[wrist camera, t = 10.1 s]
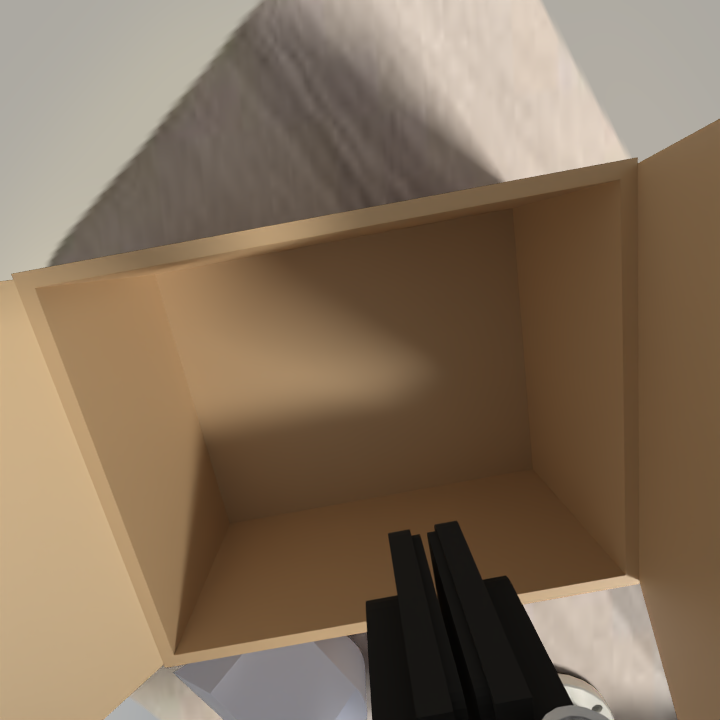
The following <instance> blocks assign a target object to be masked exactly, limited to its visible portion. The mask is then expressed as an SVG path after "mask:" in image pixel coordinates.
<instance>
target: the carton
mask: <svg viewBox="0 0 720 720" xmlns="http://www.w3.org/2000/svg"><path fill="white" fill-rule="evenodd" d="M637 160H638V158H632V159H626V160H621V161H616V162H610V163H605V164H599V165H594V166H589V167H583V168H578V169H573V170H567V171H562V172H556V173H551V174H546V175H540V176H535V177H530V178H524V179H519V180H513V181H508V182H503V183H497V184H492V185H487V186H481V187H476V188H470V189H465V190H460V191H454V192H449V193H444V194H438V195H433V196H427V197H422V198H417V199H411V200H406V201H401V202H395V203H390V204H384V205H379V206H374V207H368V208H363V209H357V210H352V211H347V212H341V213H336V214H331V215H325V216H320V217H314V218H309V219H304V220H298V221H293V222H288V223H282V224H277V225H271V226H266V227H261V228H255V229H250V230H245V231H239V232H234V233H228V234H223V235H218V236H212V237H207V238H202V239H196V240H191V241H185V242H180V243H175V244H169V245H164V246H159V247H153V248H148V249H142V250H137V251H132V252H126V253H121V254H115V255H110V256H105V257H99V258H94V259H89V260H83V261H78V262H72V263H67V264H62V265H56V266H51V267H46V268H40V269H35V270H29V271H24V272H19V273H13V274H11V275H12V277H13V280H14V282H15V285H16V288H17V290H18V293H19V295H20V298H21V300H22V303H23V306H24V308H25V311H26V313H27V316H28V318H29V321H30V323H31V326H32V329H33V331H34V334H35V336H36V339H37V341H38V344H39V347H40V349H41V352H42V354H43V357H44V359H45V362H46V364H47V367H48V370H49V372H50V375H51V377H52V380H53V382H54V385H55V387H56V390H57V393H58V395H59V398H60V400H61V403H62V405H63V408H64V411H65V413H66V416H67V418H68V421H69V423H70V426H71V428H72V431H73V434H74V436H75V439H76V441H77V444H78V446H79V449H80V452H81V454H82V457H83V459H84V462H85V464H86V467H87V469H88V472H89V475H90V477H91V480H92V482H93V485H94V487H95V490H96V493H97V495H98V498H99V500H100V503H101V505H102V508H103V510H104V513H105V516H106V518H107V521H108V523H109V526H110V528H111V531H112V534H113V536H114V539H115V541H116V544H117V546H118V549H119V551H120V554H121V557H122V559H123V562H124V564H125V567H126V569H127V572H128V575H129V577H130V580H131V582H132V585H133V587H134V590H135V592H136V595H137V598H138V600H139V603H140V605H141V608H142V610H143V613H144V615H145V618H146V621H147V623H148V626H149V628H150V631H151V633H152V636H153V639H154V641H155V644H156V646H157V649H158V651H159V654H160V656H161V659H162V662H163V664H164V667H165V668H167V667H172V666H178V665H184V664H189V663H195V662H201V661H206V660H212V659H218V658H223V657H229V656H235V655H240V654H246V653H251V652H257V651H263V650H268V649H274V648H280V647H285V646H291V645H297V644H302V643H308V642H314V641H319V640H325V639H331V638H336V637H342V636H347V635H353V634H359V633H364V632H367V623H366V601H369V600H374V599H379V598H385V597H390V596H396V595H397V589H396V583H395V577H394V570H393V564H392V557H391V551H390V545H389V538H388V533H392V532H397V531H402V530H408V529H410V532H411V536H412V535H417V534H420V536H421V539H422V543H423V546H424V550H425V554H426V558H427V561H428V565H429V569H430V572H431V576H432V580H433V583H434V587H435V591H436V585H435V579H434V573H433V567H432V561H431V555H430V549H429V544H428V537H427V533H428V532H433V531H435V529H434V525H435V524H440V523H446V522H451V521H458V523H459V526H460V528H461V530H462V533H463V535H464V537H465V540H466V542H467V544H468V547H469V549H470V552H471V554H472V556H473V559H474V561H475V563H476V566H477V568H478V570H479V573H480V575H481V577H482V580H483V579H489V578H494V577H500V576H505V575H506V576H507V577H508V578H509V580H510V581H511V583H512V585H513V587H514V589H515V591H516V593H517V595H518V597H519V599H520V601H521V603H522V604H528V603H534V602H539V601H545V600H551V599H556V598H562V597H568V596H573V595H579V594H585V593H590V592H596V591H602V590H607V589H613V588H618V587H624V586H630V585H635V584H639V408H638V162H637ZM436 594H437V591H436ZM437 598H438V597H437Z"/></svg>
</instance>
